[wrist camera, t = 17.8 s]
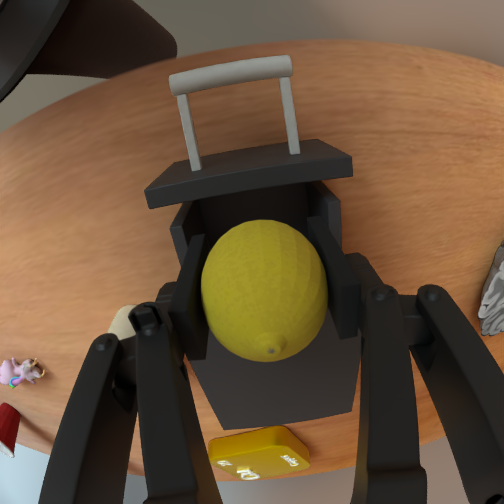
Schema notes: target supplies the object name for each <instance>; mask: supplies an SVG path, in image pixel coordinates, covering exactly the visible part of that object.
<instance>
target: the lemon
mask: <svg viewBox="0 0 504 504" xmlns="http://www.w3.org/2000/svg"><path fill="white" fill-rule="evenodd" d="M201 302H202V307H203V310H204V314H205V317H206V320H207V323H208V326H209V328H210V330H211V331H212V333H213V334H214V336H215V337H216V339H217V340H218V341H219V342H220V343H221V344H222V345H223V346H224V347H225V348H227V349H228V350H229V351H231V352H232V353H234V354H236V355H238V356H240V357H242V358H245V359H249V360H252V361H259V362H272V361H278V360H282V359H286V358H288V357H290V356H292V355H294V354H297V353H298V352H299V351H301V350H302V349H304V348H305V347H306V346H307V345H308V344H309V343H310V342H311V341H312V340H313V339H314V338H315V337H316V335H317V334H318V332H319V330H320V328H321V326H322V324H323V322H324V319H325V316H326V310H327V304H328V286H327V279H326V273H325V269H324V266H323V263H322V261H321V259H320V257H319V255H318V253H317V251H316V249H315V248H314V246H313V245H312V244H311V243H310V242H309V241H308V240H307V239H306V238H305V237H304V236H303V235H302V234H301V233H300V232H298V231H297V230H295V229H294V228H292V227H290V226H289V225H287V224H284V223H281V222H277V221H274V220H254V221H249V222H244V223H242V224H240V225H238V226H236V227H234V228H232V229H230V230H229V231H228V232H227V233H225V234H224V235H223V236H222V237H221V238H220V239H219V240H218V241H217V243H216V244H215V245H214V247H213V248H212V250H211V251H210V253H209V255H208V257H207V260H206V263H205V265H204V268H203V271H202V277H201Z"/></svg>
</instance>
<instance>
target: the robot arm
mask: <svg viewBox="0 0 504 504" xmlns="http://www.w3.org/2000/svg"><path fill="white" fill-rule="evenodd" d="M7 1H8V0H0V14H1V12H2V10H3V9H4V7H5V5H6V3H7ZM307 226H308V238H309V242H310V243H311V244H312V245H313V246H314V248H315V249H316V251H317V253H318V255H319V257H320V259H321V261H322V263H323V266H324V269H325V273H326V279H327V286H328V304H327V306H328V308H329V311H330V314H331V317H332V319H333V322H334V325H335V328H336V330H337V333H338V336H339V339H340V340H343V339H348V338H353V337H357V335H358V327H359V330H360V332H361V334H362V335H361V343H360V352H359V355H361V394H360V420H359V436H358V450H357V461H356V471H355V480H354V488H353V494H352V498H351V502H350V504H427V475H426V471H425V469H424V468H423V467H421V465H420V458H419V457H420V455H419V432H418V417H417V406H416V396H415V387H414V379H413V371H412V364H411V358H410V352H411V354H412V356H413V358H414V360H415V362H416V364H417V366H418V369H419V371H420V373H421V375H422V377H423V380H424V382H425V384H426V387H427V389H428V391H429V393H430V396H431V398H432V401H433V403H434V405H435V408H436V410H437V413H438V415H439V418H440V420H441V423H442V425H443V428H444V431H445V433H446V436H447V438H448V441H449V444H450V447H451V449H452V452H453V455H454V458H455V461H456V464H457V467H458V470H459V473H460V476H461V480H462V483H463V487H464V490H465V492H466V495H467V498H468V501H469V503H470V504H504V374H503V372H502V371H501V369H500V367H499V366H498V364H497V363H496V361H495V359H494V358H493V356H492V355H491V353H490V352H489V350H488V348H487V347H486V345H485V344H484V342H483V341H482V339H481V338H480V336H479V335H478V334H477V332H476V331H475V329H474V328H473V326H472V325H471V324H470V322H469V321H468V319H467V318H466V317H465V315H464V314H463V312H462V311H461V310H460V308H459V307H458V306H457V304H456V303H455V302H454V300H453V299H452V298H451V296H450V295H449V294H448V293H447V291H446V290H445V289H443V288H442V287H440V286H438V285H433V284H429V285H424V286H421V287H420V288H419V289H418V293H417V295H400V294H398V292H397V291H396V289H394V288H393V287H392V286H389V285H385V284H384V283H383V282H382V280H381V279H380V277H379V276H378V274H377V273H376V272H375V270H374V269H373V267H372V266H371V264H370V263H369V261H368V260H367V259H366V257H364V256H363V255H361V254H359V253H352V254H346V255H345V254H344V253H343V251H342V249H341V248H340V246H339V245H338V243H337V241H336V240H335V238H334V237H333V235H332V233H331V232H330V230H329V229H328V227H327V225H326V224H325V222H324V221H323V219H322V218H321V216H314V217H307ZM209 253H210V250H209V246H208V242H207V238H206V234H200V235H194V236H192V238H191V241H190V243H189V246H188V249H187V252H186V255H185V258H184V261H183V264H182V267H181V270H180V273H179V276H178V279H177V281H176V282H169V283H165V284H164V286H163V287H162V288H161V289H160V290H159V293H158V295H157V298H156V301H155V302H145V303H141V304H139V305H137V306H135V307H134V308H133V309H132V310H131V311H130V312H129V314H128V319H129V321H130V323H131V325H132V327H133V329H134V331H135V333H136V335H134V336H131V337H128V338H125V339H122V340H119V338H118V337H117V335H115V334H114V333H106V334H103V335H100V336H99V337H97V338H96V339H95V340H94V341H93V343H92V344H91V346H90V348H89V351H88V353H87V355H86V358H85V360H84V363H83V365H82V367H81V370H80V372H79V375H78V377H77V380H76V382H75V385H74V387H73V390H72V393H71V395H70V398H69V401H68V403H67V406H66V409H65V412H64V415H63V417H62V420H61V423H60V426H59V429H58V432H57V435H56V439H55V442H54V445H53V448H52V452H51V455H50V459H49V462H48V466H47V470H46V473H45V477H44V481H43V485H42V489H41V493H40V498H39V502H38V504H123V498H124V490H125V483H126V476H127V469H128V463H129V456H130V450H131V444H132V439H133V433H134V428H135V422H136V417H137V412H138V416H139V428H140V438H141V448H142V456H143V464H144V471H145V478H146V484H147V490H148V498H147V499H146V500H145V501H144V502H143V504H223V502H222V499H221V496H220V493H219V490H218V487H217V484H216V481H215V477H214V474H213V471H212V467H211V464H210V461H209V457H208V454H207V450H206V447H205V443H204V439H203V436H202V432H201V428H200V424H199V420H198V416H197V412H196V408H195V404H194V400H193V395H192V391H191V387H190V382H189V378H188V373H187V368H186V366H185V364H184V362H183V359H184V353H185V354H186V357H187V359H188V361H195V360H206V353H207V344H208V336H209V326H208V323H207V320H206V317H205V314H204V310H203V307H202V302H201V277H202V271H203V268H204V265H205V263H206V260H207V257H208V255H209ZM409 350H410V351H409Z"/></svg>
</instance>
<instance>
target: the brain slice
mask: <svg viewBox="0 0 504 504" xmlns="http://www.w3.org/2000/svg"><path fill="white" fill-rule="evenodd" d="M477 317H478V319H480V329H481V335H482V336H486V335H488V334H489V336H494V335H496V334H498V333H499V332H504V241H502V243H501V246H500V247H499V248H498V250H497V251H496V254H495V258H494V262H493V264H492V266H491V269H490V272H489V275H488V277H487V280H486V282H485V284H484V286H483V292H482V296H481V307H480V309H479V311H478V316H477Z"/></svg>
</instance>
